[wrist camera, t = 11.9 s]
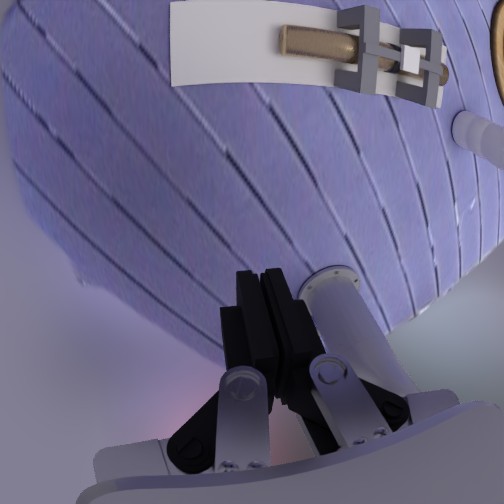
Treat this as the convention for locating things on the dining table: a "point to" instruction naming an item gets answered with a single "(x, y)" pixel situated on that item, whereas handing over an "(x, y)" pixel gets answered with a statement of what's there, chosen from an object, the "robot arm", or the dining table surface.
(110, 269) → the dining table surface
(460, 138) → the water bottle
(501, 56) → the wooden plate with food
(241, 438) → the robot arm
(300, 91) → the dining table surface
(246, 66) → the collar plate
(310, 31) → the tube
